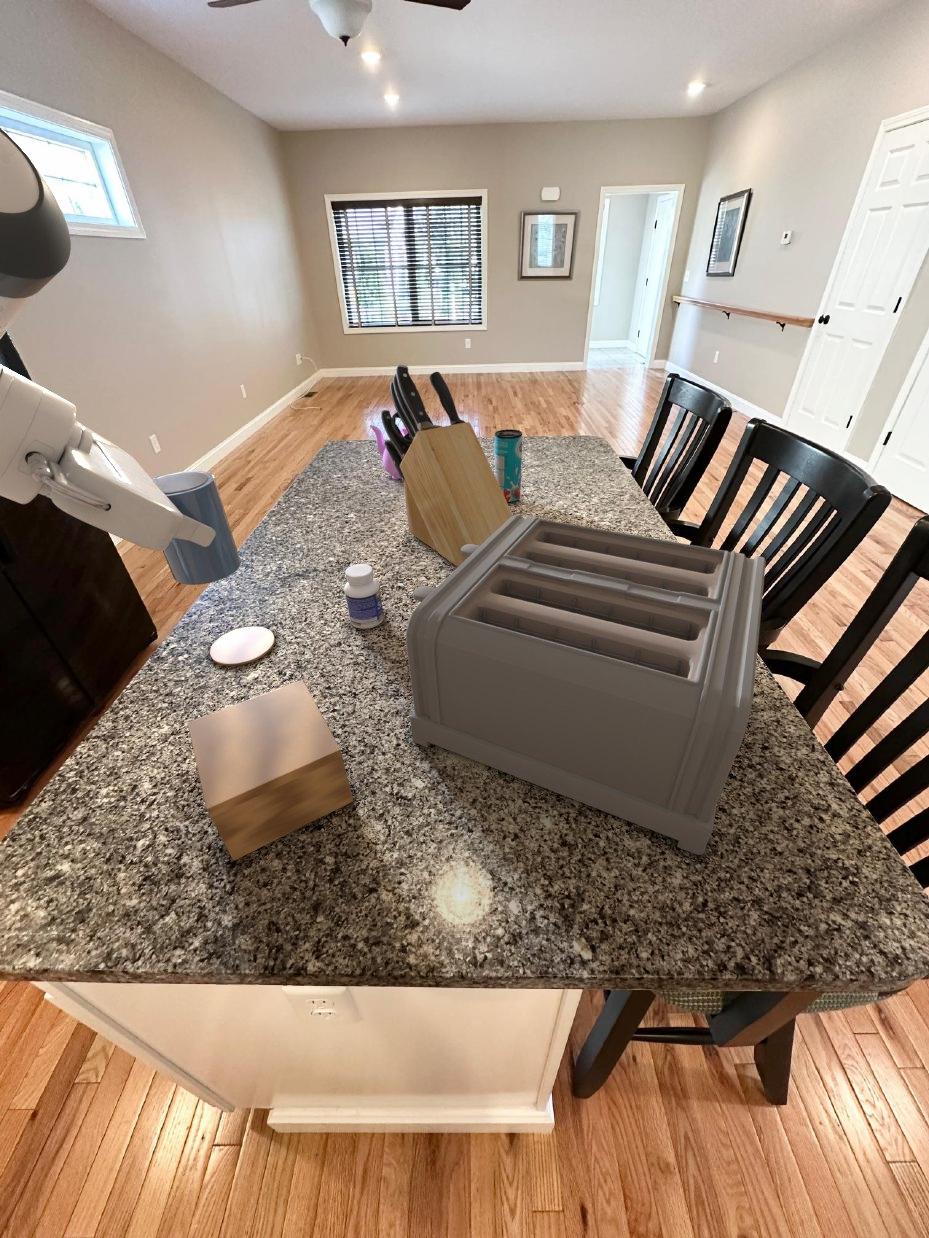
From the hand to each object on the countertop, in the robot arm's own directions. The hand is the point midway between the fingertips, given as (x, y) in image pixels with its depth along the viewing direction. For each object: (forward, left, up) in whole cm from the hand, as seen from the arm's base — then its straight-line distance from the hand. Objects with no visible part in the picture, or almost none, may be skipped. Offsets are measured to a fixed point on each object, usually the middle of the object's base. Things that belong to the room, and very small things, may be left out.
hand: (198, 523), depth 50 cm
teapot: (+54, +68, -26) cm, 90 cm away
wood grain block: (-1, -12, -25) cm, 28 cm away
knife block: (+43, +28, -26) cm, 58 cm away
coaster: (+1, +16, -25) cm, 30 cm away
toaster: (+34, -18, -26) cm, 46 cm away
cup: (-1, 0, -5) cm, 5 cm away
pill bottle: (+19, +12, -26) cm, 34 cm away
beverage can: (+65, +39, -26) cm, 80 cm away
